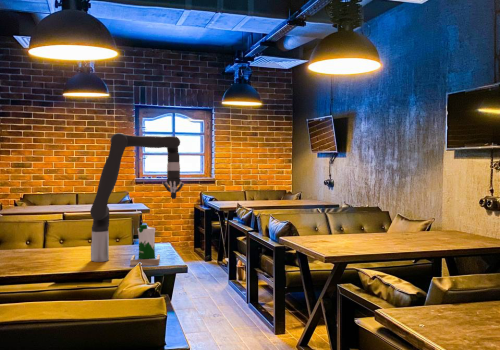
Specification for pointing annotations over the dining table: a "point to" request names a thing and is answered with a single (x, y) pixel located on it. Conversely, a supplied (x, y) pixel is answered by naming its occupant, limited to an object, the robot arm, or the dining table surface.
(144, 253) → the soya milk
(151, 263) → the stop tray
